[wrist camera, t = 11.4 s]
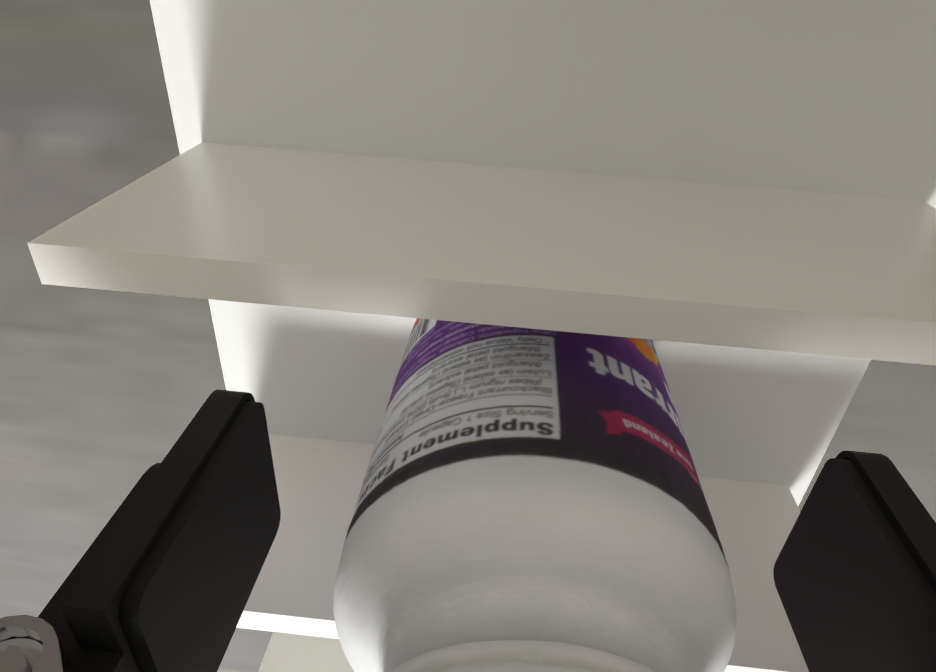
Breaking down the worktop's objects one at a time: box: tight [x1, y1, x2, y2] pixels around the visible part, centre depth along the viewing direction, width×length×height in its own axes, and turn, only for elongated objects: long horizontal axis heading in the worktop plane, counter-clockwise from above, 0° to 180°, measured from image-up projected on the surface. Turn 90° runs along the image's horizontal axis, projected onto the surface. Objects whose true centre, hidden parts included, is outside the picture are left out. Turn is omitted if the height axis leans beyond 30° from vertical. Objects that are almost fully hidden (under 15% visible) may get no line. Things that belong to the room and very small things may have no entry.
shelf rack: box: [27, 0, 936, 672], centre depth 13 cm, size 15×23×6 cm, turn 177°
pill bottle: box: [333, 318, 737, 672], centre depth 10 cm, size 5×5×10 cm
